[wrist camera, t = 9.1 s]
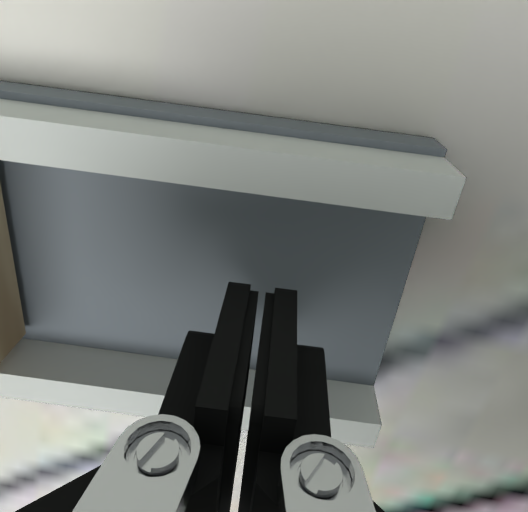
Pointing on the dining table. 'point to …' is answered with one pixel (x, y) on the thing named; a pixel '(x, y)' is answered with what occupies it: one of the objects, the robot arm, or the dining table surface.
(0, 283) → the beige rectangular block
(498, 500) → the dining table surface
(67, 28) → the dining table surface
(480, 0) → the dining table surface
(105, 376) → the grey metal rail
